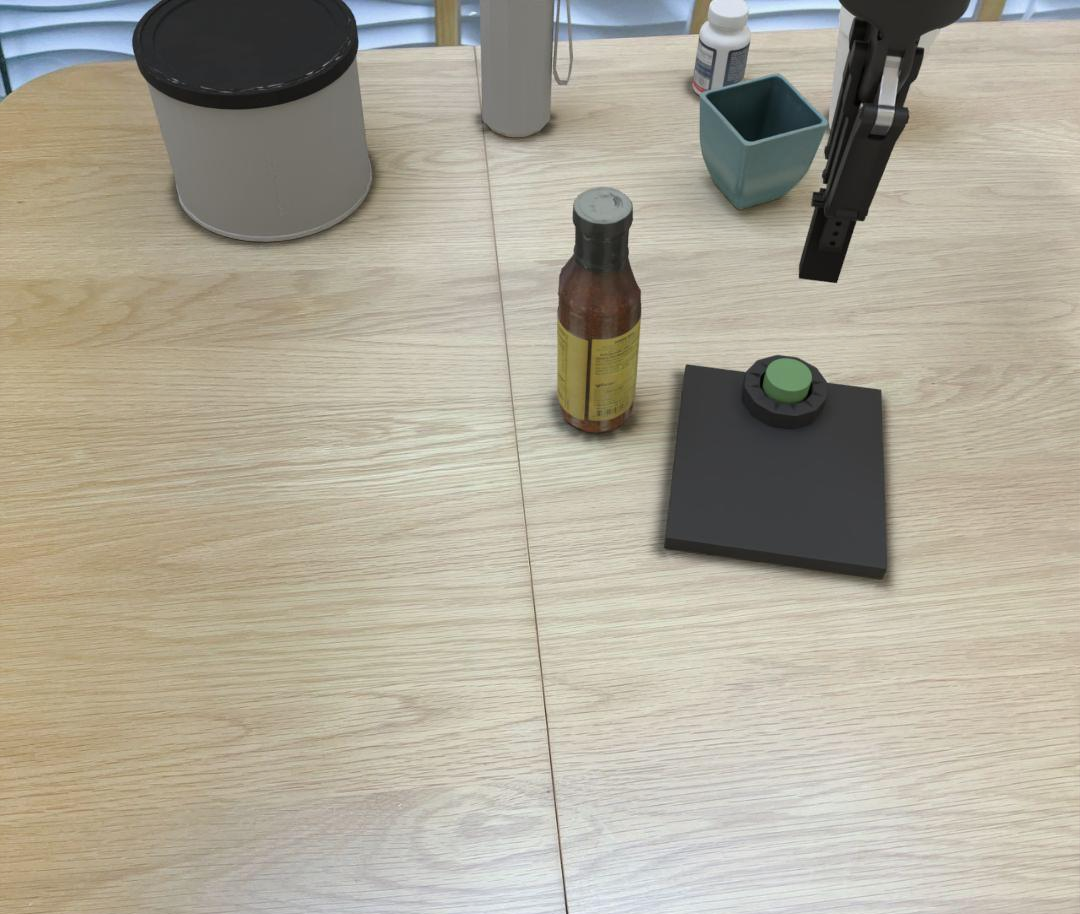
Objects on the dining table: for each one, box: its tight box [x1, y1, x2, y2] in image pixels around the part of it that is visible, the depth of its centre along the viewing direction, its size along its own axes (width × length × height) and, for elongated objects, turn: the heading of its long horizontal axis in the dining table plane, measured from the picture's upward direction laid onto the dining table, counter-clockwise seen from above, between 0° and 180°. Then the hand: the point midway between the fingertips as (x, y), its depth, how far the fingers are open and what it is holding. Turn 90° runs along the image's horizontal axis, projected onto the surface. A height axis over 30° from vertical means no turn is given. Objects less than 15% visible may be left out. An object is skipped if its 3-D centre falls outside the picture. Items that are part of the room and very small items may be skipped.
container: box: [131, 0, 373, 243], centre depth 99 cm, size 19×19×15 cm
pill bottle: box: [692, 0, 752, 96], centre depth 113 cm, size 5×5×9 cm
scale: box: [663, 354, 888, 580], centre depth 84 cm, size 16×19×3 cm
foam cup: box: [828, 4, 941, 130], centre depth 108 cm, size 10×9×13 cm
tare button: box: [763, 358, 812, 404], centre depth 86 cm, size 4×4×2 cm
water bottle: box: [479, 0, 574, 138], centre depth 102 cm, size 9×8×25 cm
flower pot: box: [699, 72, 829, 210], centre depth 102 cm, size 9×9×9 cm
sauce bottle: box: [556, 186, 642, 434], centre depth 81 cm, size 6×6×20 cm
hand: (817, 273), depth 78 cm, fingers closed
